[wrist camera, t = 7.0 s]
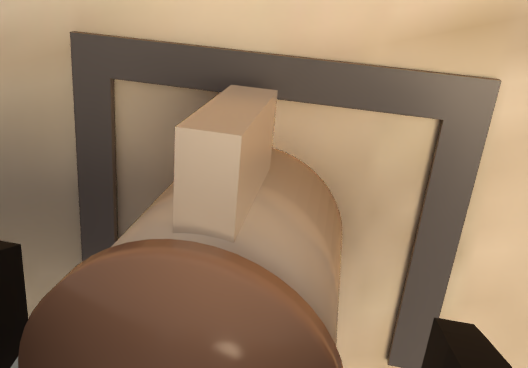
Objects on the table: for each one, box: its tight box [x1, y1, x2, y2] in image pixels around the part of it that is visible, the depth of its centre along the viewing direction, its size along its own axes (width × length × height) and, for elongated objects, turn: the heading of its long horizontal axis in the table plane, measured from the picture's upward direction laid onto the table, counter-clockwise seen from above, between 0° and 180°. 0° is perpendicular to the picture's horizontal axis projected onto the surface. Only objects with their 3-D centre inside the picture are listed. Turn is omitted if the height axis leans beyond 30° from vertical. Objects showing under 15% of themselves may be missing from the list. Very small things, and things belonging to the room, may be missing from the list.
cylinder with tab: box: [18, 85, 343, 368], centre depth 10 cm, size 5×7×6 cm
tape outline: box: [70, 31, 501, 368], centre depth 13 cm, size 10×8×1 cm
